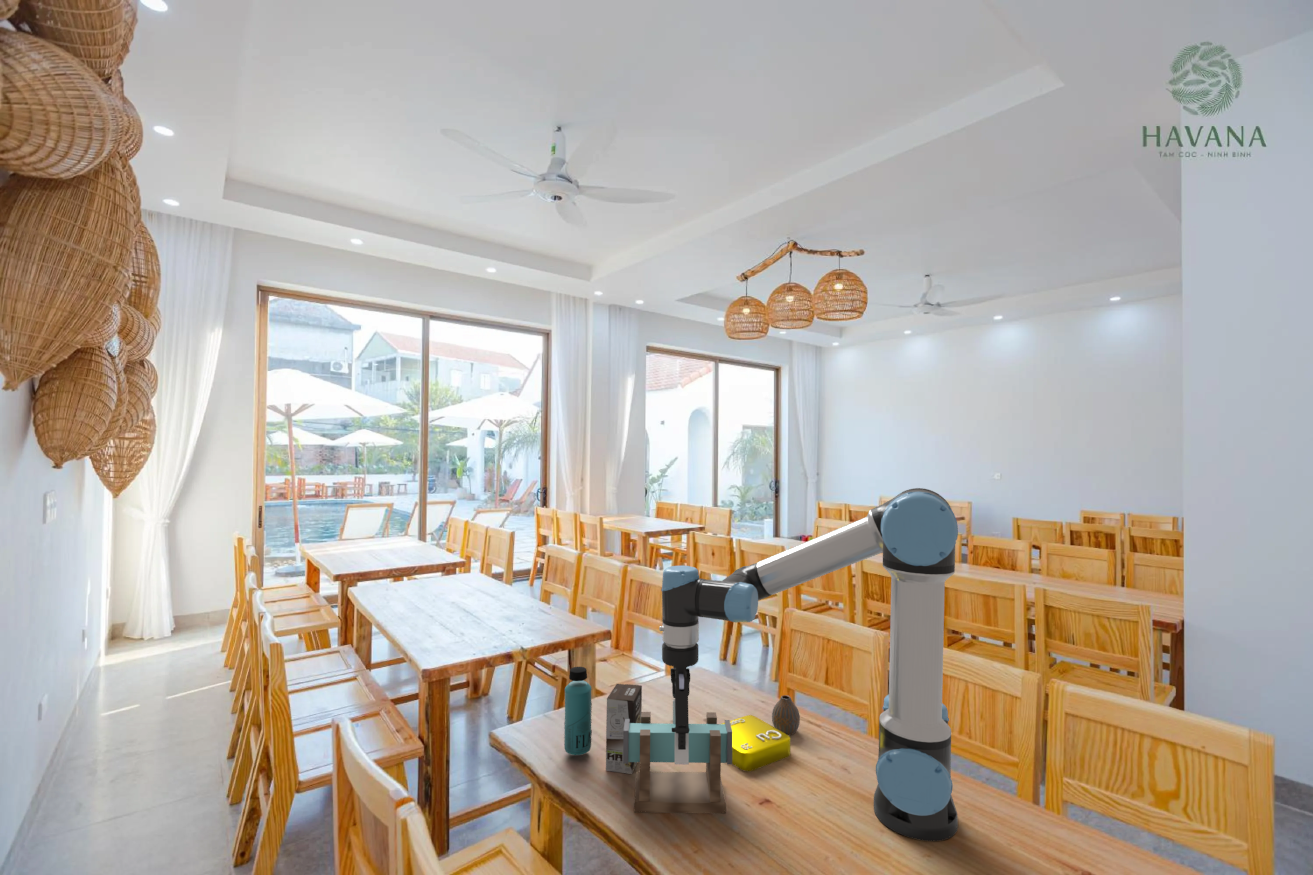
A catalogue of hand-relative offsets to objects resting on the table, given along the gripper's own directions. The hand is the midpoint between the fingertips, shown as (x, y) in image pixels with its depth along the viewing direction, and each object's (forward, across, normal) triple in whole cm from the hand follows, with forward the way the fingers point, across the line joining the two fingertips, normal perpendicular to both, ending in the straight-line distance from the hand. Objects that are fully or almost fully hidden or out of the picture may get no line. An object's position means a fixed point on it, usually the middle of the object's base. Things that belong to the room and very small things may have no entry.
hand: (680, 745), depth 124 cm
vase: (+11, -28, +28) cm, 41 cm away
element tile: (+11, -19, +17) cm, 28 cm away
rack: (+10, 0, 0) cm, 10 cm away
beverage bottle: (+10, -16, -23) cm, 30 cm away
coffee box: (+10, -13, -12) cm, 21 cm away
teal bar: (+2, 0, -1) cm, 2 cm away
